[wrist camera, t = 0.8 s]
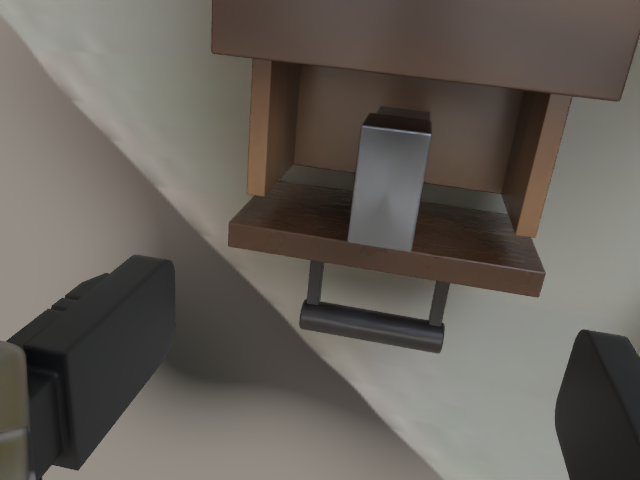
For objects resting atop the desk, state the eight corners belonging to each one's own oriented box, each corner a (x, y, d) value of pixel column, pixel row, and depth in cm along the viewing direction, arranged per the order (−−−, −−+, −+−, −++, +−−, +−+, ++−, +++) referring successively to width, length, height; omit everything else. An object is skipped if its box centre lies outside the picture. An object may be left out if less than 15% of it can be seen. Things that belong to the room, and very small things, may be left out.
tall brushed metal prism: (382, 90, 27) (360, 124, 19) (433, 96, 27) (432, 133, 19) (370, 179, 29) (346, 242, 21) (417, 186, 29) (411, 253, 21)
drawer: (497, 319, 32) (512, 395, 25) (263, 279, 33) (224, 341, 27) (589, -53, 24) (642, -73, 18) (285, -79, 26) (238, -105, 20)
